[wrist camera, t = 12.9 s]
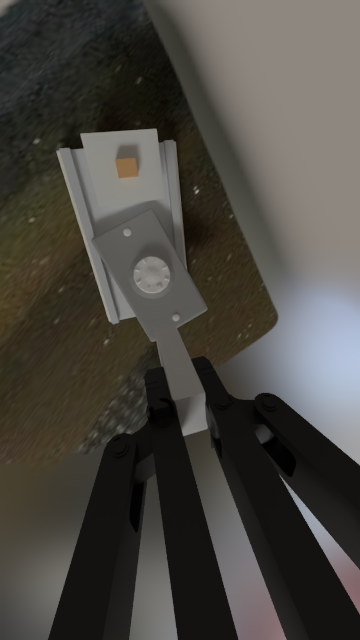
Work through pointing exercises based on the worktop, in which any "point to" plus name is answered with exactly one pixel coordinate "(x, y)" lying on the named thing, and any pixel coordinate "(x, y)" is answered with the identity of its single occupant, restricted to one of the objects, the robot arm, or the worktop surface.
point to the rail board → (122, 195)
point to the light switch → (149, 272)
